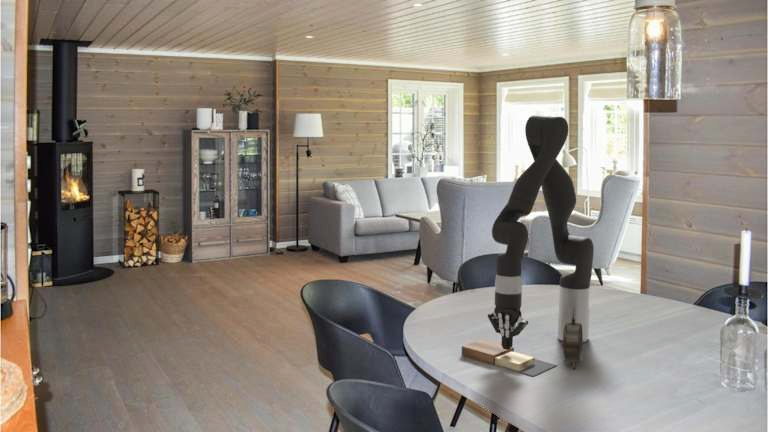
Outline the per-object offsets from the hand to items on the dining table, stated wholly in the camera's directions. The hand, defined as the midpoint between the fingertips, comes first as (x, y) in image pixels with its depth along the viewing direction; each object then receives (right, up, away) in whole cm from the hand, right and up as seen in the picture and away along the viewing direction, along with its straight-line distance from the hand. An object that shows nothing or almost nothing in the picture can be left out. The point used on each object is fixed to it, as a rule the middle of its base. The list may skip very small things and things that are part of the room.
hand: (506, 348), depth 201 cm
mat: (+5, -4, -2) cm, 7 cm away
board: (-5, -3, +5) cm, 8 cm away
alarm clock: (+18, -4, -1) cm, 19 cm away
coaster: (+2, -4, -2) cm, 5 cm away
